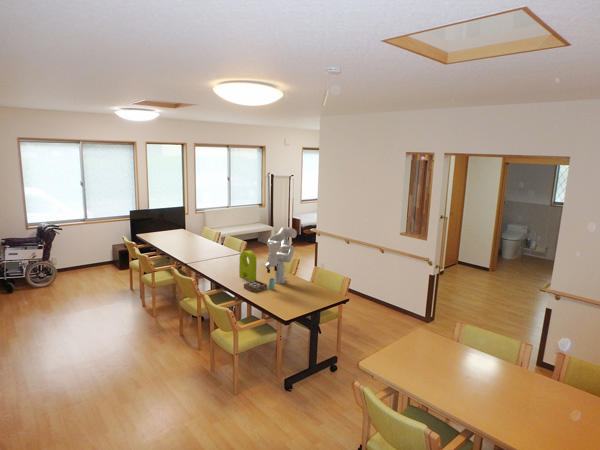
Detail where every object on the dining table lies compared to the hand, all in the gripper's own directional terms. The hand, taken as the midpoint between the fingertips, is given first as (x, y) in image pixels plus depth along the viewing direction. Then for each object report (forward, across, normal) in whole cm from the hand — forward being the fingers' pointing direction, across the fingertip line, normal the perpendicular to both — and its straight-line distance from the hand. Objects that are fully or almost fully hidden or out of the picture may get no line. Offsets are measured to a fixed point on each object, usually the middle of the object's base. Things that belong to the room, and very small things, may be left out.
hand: (272, 271), depth 368 cm
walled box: (+18, +11, -12) cm, 24 cm away
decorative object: (+18, -3, -40) cm, 44 cm away
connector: (+18, 0, 0) cm, 18 cm away
